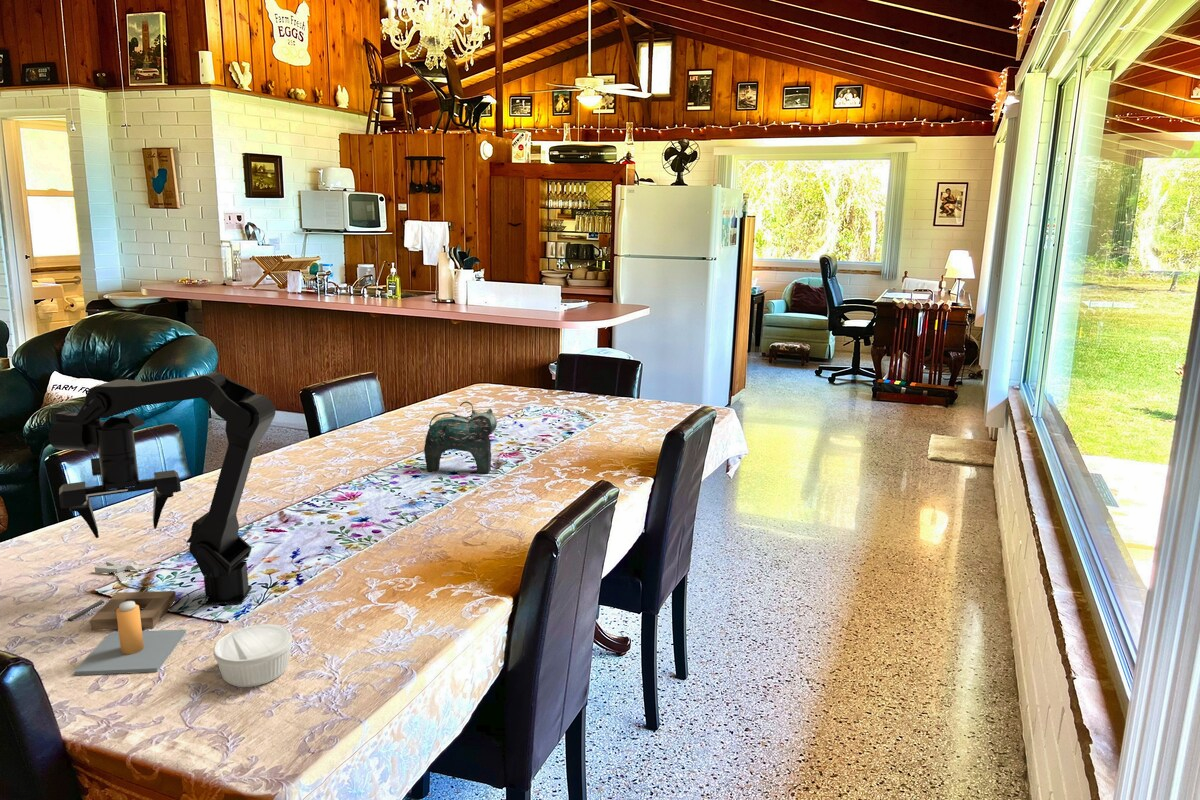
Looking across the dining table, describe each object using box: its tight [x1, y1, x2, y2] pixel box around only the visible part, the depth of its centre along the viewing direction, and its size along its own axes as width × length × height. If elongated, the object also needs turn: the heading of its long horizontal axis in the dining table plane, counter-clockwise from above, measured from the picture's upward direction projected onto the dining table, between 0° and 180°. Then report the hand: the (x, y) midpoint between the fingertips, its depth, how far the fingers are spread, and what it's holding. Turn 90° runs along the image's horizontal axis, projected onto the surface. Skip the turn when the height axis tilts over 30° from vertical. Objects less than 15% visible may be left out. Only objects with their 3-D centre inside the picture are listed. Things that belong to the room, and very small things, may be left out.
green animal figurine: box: [423, 400, 498, 475], centre depth 223 cm, size 20×6×20 cm, turn 84°
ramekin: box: [212, 623, 293, 688], centre depth 126 cm, size 11×11×5 cm
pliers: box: [94, 560, 159, 584], centre depth 159 cm, size 10×2×15 cm
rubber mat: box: [73, 629, 187, 676], centre depth 131 cm, size 12×12×1 cm
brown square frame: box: [89, 590, 177, 631], centre depth 143 cm, size 10×10×2 cm
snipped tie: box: [67, 600, 105, 622], centre depth 144 cm, size 7×1×1 cm, turn 167°
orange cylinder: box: [116, 601, 144, 655], centre depth 130 cm, size 3×3×8 cm
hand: (126, 532), depth 148 cm, fingers open, 9 cm apart
